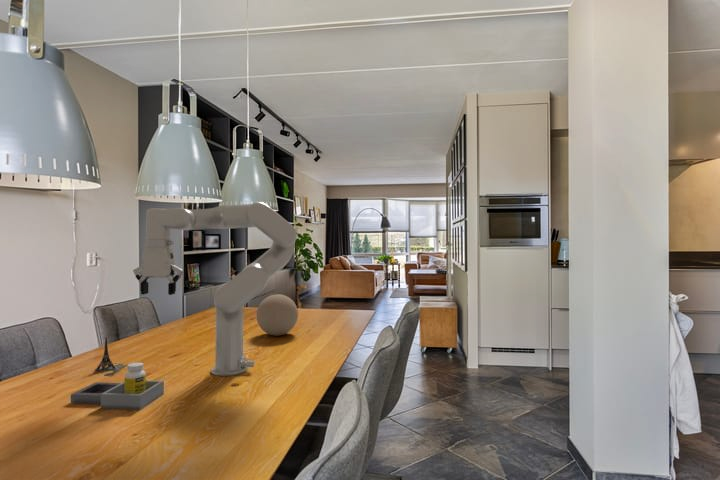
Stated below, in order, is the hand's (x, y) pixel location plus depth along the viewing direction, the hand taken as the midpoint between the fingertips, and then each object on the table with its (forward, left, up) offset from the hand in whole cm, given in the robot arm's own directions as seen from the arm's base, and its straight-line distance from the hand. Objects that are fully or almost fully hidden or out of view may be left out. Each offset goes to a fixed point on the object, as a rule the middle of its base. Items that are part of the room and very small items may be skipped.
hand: (158, 294), depth 140 cm
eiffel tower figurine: (+22, -5, -29) cm, 37 cm away
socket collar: (+7, +19, -28) cm, 35 cm away
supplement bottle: (-5, +21, -28) cm, 35 cm away
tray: (-5, +21, -28) cm, 36 cm away
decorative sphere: (-24, -63, -28) cm, 73 cm away
